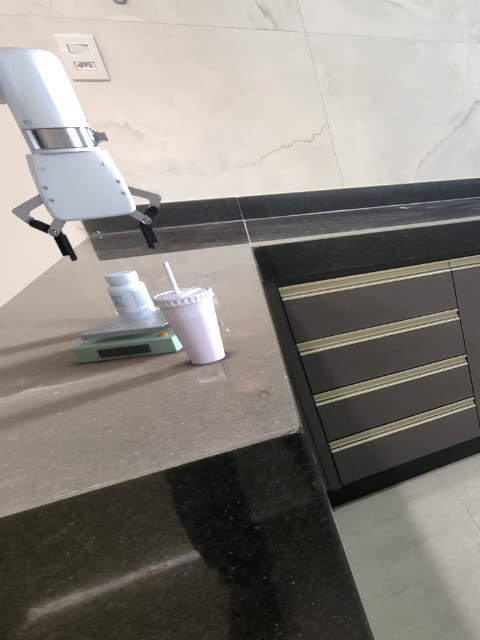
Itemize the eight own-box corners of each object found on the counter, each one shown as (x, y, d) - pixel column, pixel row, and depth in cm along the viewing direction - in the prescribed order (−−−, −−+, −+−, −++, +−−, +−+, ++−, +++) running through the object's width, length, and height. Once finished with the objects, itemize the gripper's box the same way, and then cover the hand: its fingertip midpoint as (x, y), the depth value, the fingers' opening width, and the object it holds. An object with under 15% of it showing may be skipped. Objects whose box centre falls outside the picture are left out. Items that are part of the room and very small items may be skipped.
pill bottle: (158, 314, 95) (139, 268, 91) (158, 320, 92) (138, 272, 88) (123, 320, 92) (101, 273, 89) (122, 327, 89) (99, 278, 85)
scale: (76, 364, 74) (68, 348, 73) (127, 334, 85) (121, 320, 84) (176, 352, 77) (169, 336, 76) (213, 325, 88) (207, 311, 87)
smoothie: (169, 365, 73) (124, 265, 67) (216, 348, 78) (179, 254, 72) (201, 370, 71) (158, 268, 65) (247, 352, 76) (211, 256, 71)
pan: (81, 340, 75) (79, 335, 74) (123, 318, 83) (121, 313, 83) (164, 331, 77) (162, 326, 77) (196, 310, 86) (194, 306, 85)
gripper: (134, 138, 88) (176, 241, 95) (-21, 146, 77) (41, 261, 84) (138, 138, 83) (183, 246, 90) (-26, 146, 72) (40, 268, 79)
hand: (114, 253), depth 87 cm, fingers open, 9 cm apart
